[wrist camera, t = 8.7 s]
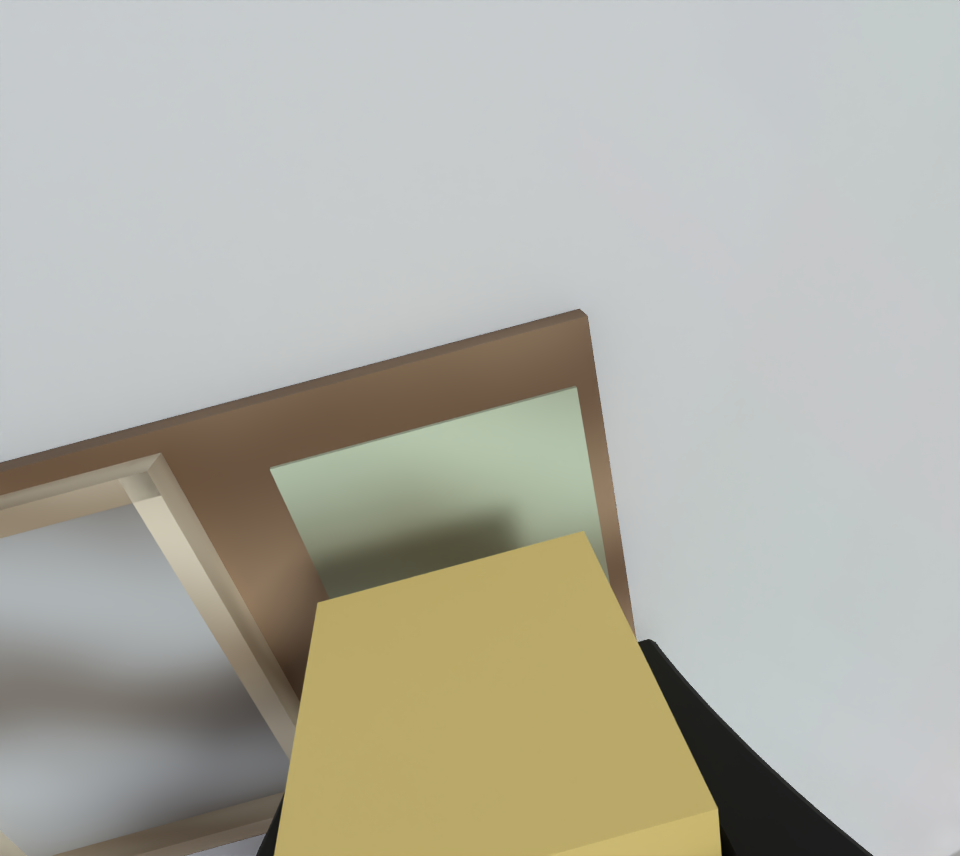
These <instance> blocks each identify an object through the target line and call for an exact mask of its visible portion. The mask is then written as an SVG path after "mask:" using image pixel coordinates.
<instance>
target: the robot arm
mask: <svg viewBox="0 0 960 856" xmlns="http://www.w3.org/2000/svg"><path fill="white" fill-rule="evenodd" d="M638 644H639V646H640V648H641V650H642V652H643V654H644V657H645V659H646V661H647V663H648V665H649V667H650V669H651V671H652V673H653V675H654V677H655V679H656V681H657V683H658V686H659V688H660V690H661V692H662V694H663V696H664V698H665V700H666V702H667V704H668V706H669V708H670V710H671V712H672V715H673V717H674V719H675V721H676V723H677V725H678V727H679V729H680V731H681V733H682V735H683V737H684V739H685V741H686V744H687V746H688V748H689V750H690V752H691V754H692V756H693V758H694V760H695V762H696V764H697V766H698V768H699V770H700V772H701V775H702V777H703V779H704V781H705V783H706V785H707V787H708V789H709V791H710V793H711V795H712V797H713V799H714V801H715V804H716V806H717V808H718V815H719V828H720V842H721V855H722V856H873V855H872V854H871V853H869V852H868V851H867V850H865V849H864V848H863V847H862V846H861V845H859V844H858V843H857V842H856V841H855V840H853V839H852V838H851V837H850V836H849V835H847V834H846V833H845V832H844V831H843V830H841V829H840V828H839V827H838V826H836V825H835V824H834V823H833V822H832V821H831V820H829V819H828V818H827V817H826V816H825V815H824V814H822V813H821V812H820V811H819V810H818V809H817V808H815V807H814V806H813V805H812V804H811V803H810V802H809V801H808V800H806V799H805V798H804V797H803V796H802V795H801V794H800V793H798V792H797V791H796V790H795V789H794V788H793V787H792V786H791V785H790V784H789V783H788V782H786V781H785V780H784V779H783V778H782V777H781V776H780V775H779V774H778V773H777V772H776V771H775V770H773V769H772V768H771V767H770V766H769V765H768V764H767V763H766V762H765V761H764V760H763V759H762V758H761V757H760V756H759V755H758V754H757V753H756V752H755V751H753V750H752V749H751V748H750V747H749V746H748V745H747V744H746V743H745V742H744V741H743V740H742V739H741V738H740V737H739V736H738V735H737V734H736V733H735V732H734V731H733V729H732V728H731V727H730V726H729V725H728V724H727V723H726V722H725V721H724V720H723V719H722V718H721V717H720V716H719V715H718V714H717V713H716V712H715V711H714V710H713V709H712V708H711V707H710V706H709V705H708V704H707V703H706V702H705V700H704V699H703V698H702V697H701V696H700V695H699V694H698V693H697V692H696V691H695V689H694V688H693V687H692V686H691V685H690V684H689V683H688V682H687V680H686V679H685V678H684V677H683V676H682V675H681V674H680V672H679V671H678V670H677V669H676V668H675V666H674V665H673V664H672V663H671V662H670V660H669V659H668V658H667V657H666V655H665V654H664V653H663V652H662V650H661V649H660V648H659V646H658V645H657V644H656V642H654V641H652V640H650V639H648V640H644V641H640V642H638ZM284 794H285V792H284ZM284 794H283V797H282V799H281V801H280V803H279V806H278V808H277V810H276V813H275V815H274V817H273V820H272V822H271V824H270V826H269V829H268V831H267V833H266V835H265V837H264V839H263V842H262V844H261V846H260V848H259V850H258V853H257V855H256V856H274V852H275V847H276V841H277V835H278V829H279V823H280V818H281V812H282V806H283V800H284Z"/></svg>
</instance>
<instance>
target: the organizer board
mask: <svg viewBox="0 0 960 856" xmlns="http://www.w3.org/2000/svg"><path fill="white" fill-rule="evenodd" d="M581 531H584V532H585V534H586V536H587V539H588V541H589V543H590V545H591V547H592V549H593V551H594V553H595V555H596V557H597V559H598V561H599V563H600V565H601V568H602V570H603V572H604V574H605V576H606V578H607V580H608V582H609V584H610V586H611V588H612V590H613V592H614V594H615V597H616V599H617V601H618V603H619V605H620V607H621V609H622V611H623V613H624V615H625V617H626V619H627V621H628V623H629V626H630V628H631V630H632V632H633V634H634V636H635V638H636V634H635V628H634V621H633V614H632V608H631V601H630V594H629V588H628V581H627V575H626V568H625V561H624V555H623V548H622V541H621V535H620V528H619V521H618V515H617V508H616V502H615V495H614V488H613V482H612V475H611V468H610V462H609V455H608V448H607V442H606V435H605V429H604V422H603V415H602V409H601V402H600V395H599V389H598V382H597V375H596V369H595V362H594V356H593V349H592V342H591V336H590V329H589V322H588V316H587V315H586V314H585V313H584V312H583V311H581V310H580V309H577V310H573V311H570V312H566V313H562V314H558V315H555V316H551V317H547V318H543V319H540V320H536V321H532V322H528V323H525V324H521V325H517V326H513V327H510V328H506V329H502V330H498V331H494V332H491V333H487V334H483V335H479V336H476V337H472V338H468V339H464V340H461V341H457V342H453V343H449V344H446V345H442V346H438V347H434V348H430V349H427V350H423V351H419V352H415V353H412V354H408V355H404V356H400V357H397V358H393V359H389V360H385V361H382V362H378V363H374V364H370V365H367V366H363V367H359V368H355V369H351V370H348V371H344V372H340V373H336V374H333V375H329V376H325V377H321V378H318V379H314V380H310V381H306V382H303V383H299V384H295V385H291V386H288V387H284V388H280V389H276V390H272V391H269V392H265V393H261V394H257V395H254V396H250V397H246V398H242V399H239V400H235V401H231V402H227V403H224V404H220V405H216V406H212V407H208V408H205V409H201V410H197V411H193V412H190V413H186V414H182V415H178V416H175V417H171V418H167V419H163V420H160V421H156V422H152V423H148V424H145V425H141V426H137V427H133V428H129V429H126V430H122V431H118V432H114V433H111V434H107V435H103V436H99V437H96V438H92V439H88V440H84V441H81V442H77V443H73V444H69V445H66V446H62V447H58V448H54V449H50V450H47V451H43V452H39V453H35V454H32V455H28V456H24V457H20V458H17V459H13V460H9V461H5V462H2V463H0V856H185V855H189V854H193V853H196V852H200V851H204V850H207V849H211V848H214V847H218V846H222V845H225V844H229V843H233V842H236V841H240V840H243V839H247V838H251V837H254V836H258V835H262V834H265V833H267V831H268V829H269V826H270V824H271V822H272V820H273V817H274V815H275V813H276V810H277V808H278V806H279V803H280V801H281V799H282V797H283V794H284V792H285V789H286V783H287V777H288V771H289V765H290V760H291V754H292V748H293V742H294V737H295V731H296V725H297V719H298V713H299V708H300V702H301V696H302V690H303V684H304V679H305V673H306V667H307V661H308V655H309V650H310V644H311V638H312V632H313V626H314V621H315V615H316V609H317V603H318V602H322V601H326V600H329V599H333V598H337V597H340V596H344V595H348V594H352V593H355V592H359V591H363V590H366V589H370V588H374V587H377V586H381V585H385V584H389V583H392V582H396V581H400V580H403V579H407V578H411V577H414V576H418V575H422V574H426V573H429V572H433V571H437V570H440V569H444V568H448V567H451V566H455V565H459V564H463V563H466V562H470V561H474V560H477V559H481V558H485V557H488V556H492V555H496V554H500V553H503V552H507V551H511V550H514V549H518V548H522V547H526V546H529V545H533V544H537V543H540V542H544V541H548V540H551V539H555V538H559V537H563V536H566V535H570V534H574V533H577V532H581Z"/></svg>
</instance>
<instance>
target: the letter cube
mask: <svg viewBox="0 0 960 856" xmlns="http://www.w3.org/2000/svg"><path fill="white" fill-rule="evenodd" d="M274 856H722V855H721V842H720V828H719V815H718V808H717V806H716V804H715V801H714V799H713V797H712V795H711V793H710V791H709V789H708V787H707V785H706V783H705V781H704V779H703V777H702V775H701V772H700V770H699V768H698V766H697V764H696V762H695V760H694V758H693V756H692V754H691V752H690V750H689V748H688V746H687V744H686V741H685V739H684V737H683V735H682V733H681V731H680V729H679V727H678V725H677V723H676V721H675V719H674V717H673V715H672V712H671V710H670V708H669V706H668V704H667V702H666V700H665V698H664V696H663V694H662V692H661V690H660V688H659V686H658V683H657V681H656V679H655V677H654V675H653V673H652V671H651V669H650V667H649V665H648V663H647V661H646V659H645V657H644V654H643V652H642V650H641V648H640V646H639V644H638V642H637V640H636V638H635V636H634V634H633V632H632V630H631V628H630V626H629V623H628V621H627V619H626V617H625V615H624V613H623V611H622V609H621V607H620V605H619V603H618V601H617V599H616V597H615V594H614V592H613V590H612V588H611V586H610V584H609V582H608V580H607V578H606V576H605V574H604V572H603V570H602V568H601V565H600V563H599V561H598V559H597V557H596V555H595V553H594V551H593V549H592V547H591V545H590V543H589V541H588V539H587V536H586V534H585V532H584V531H581V532H577V533H574V534H570V535H566V536H563V537H559V538H555V539H551V540H548V541H544V542H540V543H537V544H533V545H529V546H526V547H522V548H518V549H514V550H511V551H507V552H503V553H500V554H496V555H492V556H488V557H485V558H481V559H477V560H474V561H470V562H466V563H463V564H459V565H455V566H451V567H448V568H444V569H440V570H437V571H433V572H429V573H426V574H422V575H418V576H414V577H411V578H407V579H403V580H400V581H396V582H392V583H389V584H385V585H381V586H377V587H374V588H370V589H366V590H363V591H359V592H355V593H352V594H348V595H344V596H340V597H337V598H333V599H329V600H326V601H322V602H318V603H317V609H316V615H315V621H314V626H313V632H312V638H311V644H310V650H309V655H308V661H307V667H306V673H305V679H304V684H303V690H302V696H301V702H300V708H299V713H298V719H297V725H296V731H295V737H294V742H293V748H292V754H291V760H290V765H289V771H288V777H287V783H286V789H285V794H284V800H283V806H282V812H281V818H280V823H279V829H278V835H277V841H276V847H275V852H274Z"/></svg>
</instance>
